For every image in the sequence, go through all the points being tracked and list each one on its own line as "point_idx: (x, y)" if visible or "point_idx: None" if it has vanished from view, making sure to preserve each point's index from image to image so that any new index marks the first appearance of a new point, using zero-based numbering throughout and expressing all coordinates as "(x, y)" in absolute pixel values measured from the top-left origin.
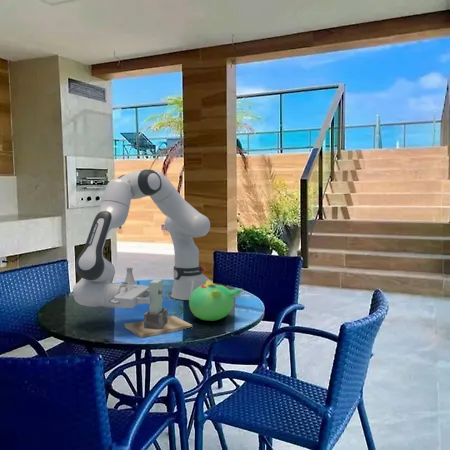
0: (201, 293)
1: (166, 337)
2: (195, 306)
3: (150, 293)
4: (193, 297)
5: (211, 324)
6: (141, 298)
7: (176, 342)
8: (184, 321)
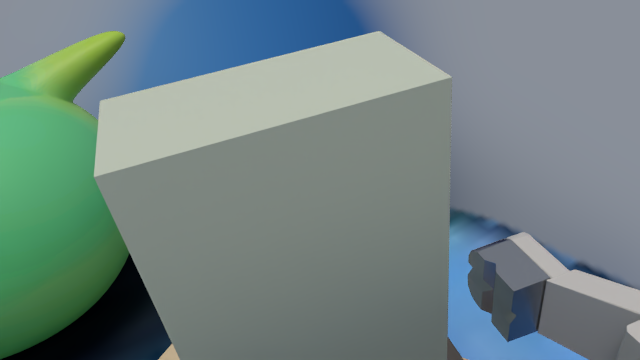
0: (45, 129)
1: (472, 306)
2: (110, 223)
3: (440, 234)
4: (42, 200)
5: (129, 259)
6: (631, 289)
7: (492, 230)
8: (169, 352)
